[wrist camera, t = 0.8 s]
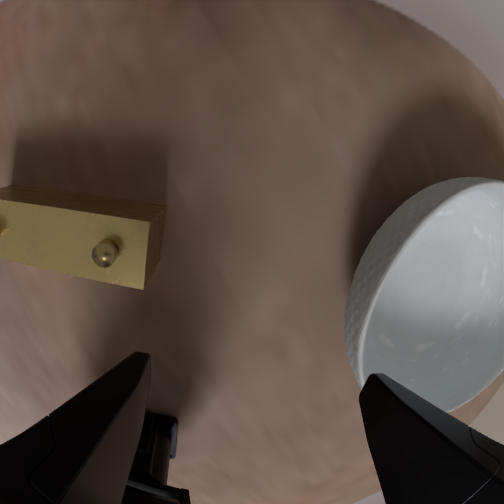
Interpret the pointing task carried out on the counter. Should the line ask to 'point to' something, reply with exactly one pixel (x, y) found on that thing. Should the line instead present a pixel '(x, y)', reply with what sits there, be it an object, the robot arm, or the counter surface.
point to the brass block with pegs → (81, 234)
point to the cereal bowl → (433, 294)
